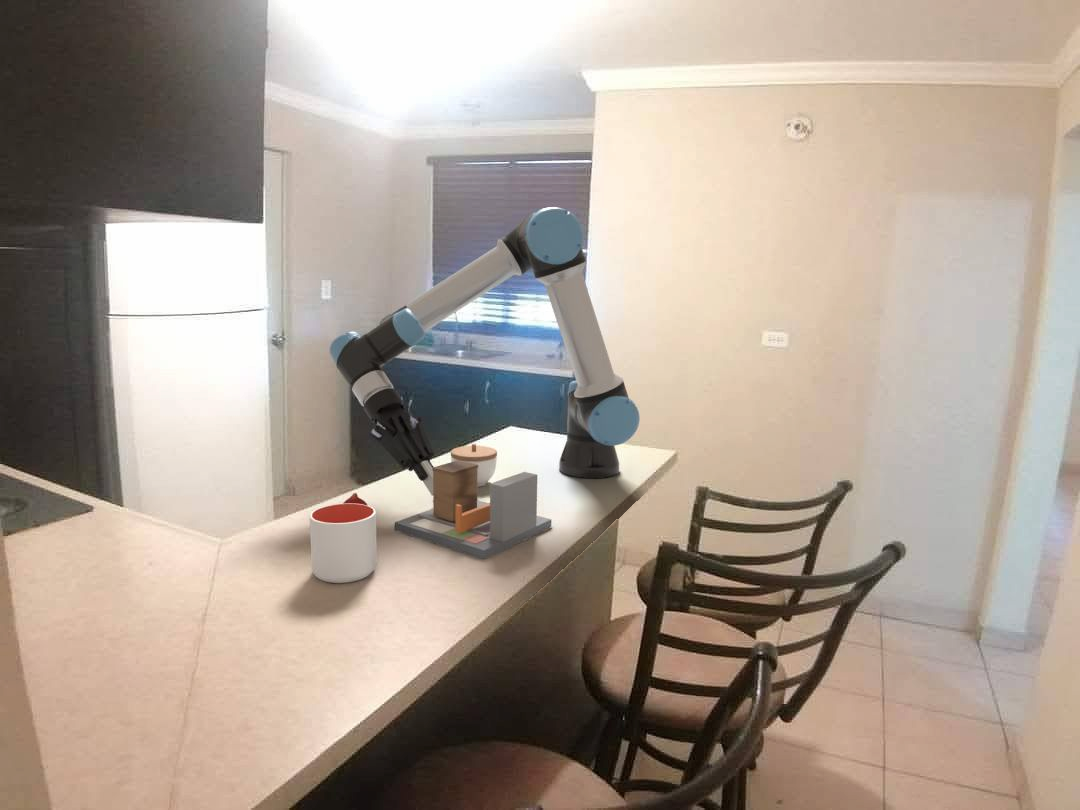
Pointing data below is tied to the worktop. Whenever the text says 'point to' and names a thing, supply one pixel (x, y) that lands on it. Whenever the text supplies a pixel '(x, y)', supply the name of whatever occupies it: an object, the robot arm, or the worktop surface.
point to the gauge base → (506, 526)
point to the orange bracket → (471, 517)
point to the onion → (355, 500)
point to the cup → (343, 542)
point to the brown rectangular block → (454, 488)
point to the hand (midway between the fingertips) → (438, 491)
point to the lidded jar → (477, 460)
